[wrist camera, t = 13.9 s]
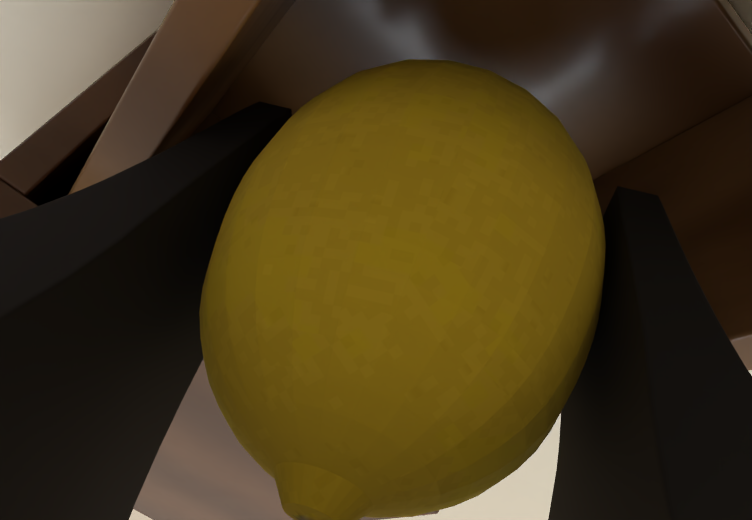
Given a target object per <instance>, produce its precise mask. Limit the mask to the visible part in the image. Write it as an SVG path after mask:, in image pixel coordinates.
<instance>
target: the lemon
mask: <svg viewBox="0 0 752 520" xmlns="http://www.w3.org/2000/svg"><path fill="white" fill-rule="evenodd" d="M605 249H606V242H605V229H604V223H603V218H602V213H601V209H600V205H599V201H598V198H597V194H596V191H595V187H594V184H593V180H592V177H591V173H590V170H589V168H588V165H587V162H586V160H585V158H584V157H583V155H582V154H581V152H580V151H579V149H578V148H577V146H576V145H575V143H574V142H573V140H572V138H571V137H570V135H569V134H568V132H567V131H566V129H565V128H564V126H563V125H562V123H561V122H560V120H559V119H558V117H557V116H555V115H554V114H553V113H552V112H551V111H550V110H549V109H548V108H546V107H545V106H544V105H543V104H542V103H541V102H540V101H539V100H538V99H536V98H535V97H534V96H533V95H532V94H531V93H530V92H529V91H528V90H526V89H524V88H522V87H521V86H519V85H517V84H515V83H513V82H511V81H509V80H507V79H505V78H503V77H502V76H500V75H498V74H496V73H494V72H492V71H490V70H487V69H483V68H479V67H475V66H471V65H467V64H463V63H459V62H455V61H451V60H420V59H406V60H402V61H398V62H394V63H390V64H386V65H382V66H378V67H374V68H370V69H367V70H363V71H359V72H357V73H355V74H353V75H352V76H350V77H348V78H346V79H344V80H343V81H341V82H339V83H338V84H336V85H334V86H333V87H331V88H329V89H328V90H326V91H324V92H323V93H321V94H319V95H318V96H316V97H314V98H313V99H312V100H310V101H309V102H307V103H306V104H305V105H303V106H302V107H301V108H300V109H299V110H298V111H297V112H296V113H295V114H294V115H293V116H292V117H290V118H289V119H288V121H287V122H286V123H285V124H284V125H283V126H282V128H281V129H280V130H279V131H278V132H277V134H276V135H275V136H274V137H273V138H272V139H271V141H270V142H269V143H268V144H267V145H266V146H265V148H264V149H263V150H262V151H261V153H260V154H259V155H258V156H257V157H256V159H255V160H254V161H253V163H252V164H251V166H250V167H249V169H248V170H247V172H246V173H245V175H244V176H243V178H242V180H241V182H240V184H239V186H238V188H237V189H236V191H235V193H234V195H233V197H232V200H231V202H230V204H229V207H228V209H227V211H226V214H225V216H224V219H223V222H222V225H221V228H220V230H219V233H218V236H217V239H216V242H215V246H214V249H213V252H212V255H211V258H210V261H209V265H208V268H207V272H206V276H205V280H204V284H203V288H202V295H201V303H200V310H199V317H200V339H201V346H202V352H203V359H204V363H205V368H206V372H207V376H208V381H209V384H210V387H211V389H212V391H213V394H214V396H215V399H216V401H217V404H218V406H219V408H220V410H221V412H222V414H223V416H224V418H225V420H226V421H227V423H228V425H229V427H230V428H231V430H232V432H233V433H234V435H235V437H236V438H237V440H238V442H239V443H240V444H241V445H242V447H243V448H244V449H245V450H246V451H247V452H248V453H249V454H250V456H251V457H252V458H253V459H254V460H255V461H256V462H257V463H258V464H259V465H260V466H261V467H262V469H263V470H264V471H265V472H267V473H268V474H269V475H270V476H271V477H273V478H274V479H275V482H276V486H277V489H278V493H279V497H280V501H281V505H282V508H283V510H284V512H285V513H286V514H287V515H288V516H290V517H291V518H292V519H294V520H359V519H361V518H363V517H372V518H385V517H413V516H417V515H421V514H425V513H429V512H433V511H437V510H440V509H444V508H448V507H452V506H455V505H457V504H460V503H462V502H464V501H467V500H469V499H471V498H474V497H476V496H478V495H480V494H481V493H483V492H484V491H486V490H487V489H489V488H490V487H492V486H494V485H495V484H497V483H498V482H500V481H501V480H502V479H504V478H505V477H507V476H508V475H510V474H511V473H512V472H514V471H515V470H517V469H518V468H519V467H520V466H521V465H522V464H523V463H524V462H525V461H526V460H527V459H528V458H529V457H530V456H531V455H532V454H533V453H534V452H535V451H536V450H537V449H538V447H539V446H540V445H541V443H542V442H543V440H544V439H545V438H546V436H547V435H548V433H549V432H550V431H551V429H552V427H553V425H554V423H555V422H556V420H557V418H558V416H559V414H560V413H561V411H562V409H563V407H564V405H565V403H566V402H567V400H568V398H569V396H570V394H571V392H572V390H573V389H574V387H575V385H576V383H577V380H578V378H579V376H580V374H581V371H582V369H583V367H584V364H585V362H586V359H587V356H588V354H589V351H590V348H591V345H592V342H593V339H594V335H595V331H596V327H597V324H598V320H599V313H600V307H601V301H602V290H603V279H604V268H605Z"/></svg>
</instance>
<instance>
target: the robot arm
mask: <svg viewBox="0 0 752 520" xmlns="http://www.w3.org/2000/svg"><path fill="white" fill-rule="evenodd" d="M290 117H292V111H291V109H289V108H285V107H281V106H277V105H272V104H268V103H264V102H260V101H259V102H257V103H255V104H253V105H250V106H248V107H246V108H244V109H242V110H240V111H238V112H236V113H234V114H233V115H231V116H229V117H227V118H225V119H223V120H221V121H219V122H218V123H216V124H214V125H212V126H210V127H208V128H206V129H205V130H203V131H201V132H199V133H197V134H195V135H193V136H192V137H190V138H188V139H186V140H184V141H182V142H180V143H178V144H176V145H174V146H173V147H171V148H169V149H167V150H165V151H163V152H161V153H159V154H157V155H155V156H153V157H151V158H149V159H147V160H145V161H143V162H140V163H138V164H136V165H134V166H132V167H130V168H128V169H126V170H124V171H122V172H119V173H117V174H115V175H113V176H111V177H109V178H107V179H105V180H103V181H100V182H98V183H96V184H93V185H91V186H89V187H86V188H84V189H81V190H79V191H77V192H74V193H72V194H69V195H67V196H64V197H61V198H59V199H56V200H53V201H51V202H48V203H45V204H43V205H40V206H37V207H35V208H32V209H29V210H26V211H23V212H20V213H17V214H14V215H10V216H7V217H4V218H1V219H0V520H129V517H130V515H131V512H132V510H133V507H134V505H135V502H136V500H137V498H138V496H139V493H140V491H141V489H142V487H143V484H144V482H145V480H146V477H147V475H148V473H149V471H150V468H151V466H152V464H153V462H154V459H155V457H156V455H157V453H158V450H159V448H160V446H161V444H162V442H163V440H164V437H165V435H166V433H167V431H168V429H169V427H170V425H171V423H172V421H173V419H174V416H175V414H176V412H177V410H178V408H179V406H180V404H181V402H182V400H183V398H184V396H185V394H186V392H187V390H188V388H189V386H190V384H191V382H192V380H193V378H194V376H195V374H196V372H197V370H198V368H199V366H200V364H201V362H202V360H203V352H202V346H201V339H200V317H199V310H200V303H201V295H202V288H203V284H204V280H205V276H206V272H207V268H208V265H209V261H210V258H211V255H212V252H213V249H214V246H215V242H216V239H217V236H218V233H219V230H220V228H221V225H222V222H223V219H224V216H225V214H226V211H227V209H228V207H229V204H230V202H231V200H232V197H233V195H234V193H235V191H236V189H237V188H238V186H239V184H240V182H241V180H242V178H243V176H244V175H245V173H246V172H247V170H248V169H249V167H250V166H251V164H252V163H253V161H254V160H255V159H256V157H257V156H258V155H259V154H260V153H261V151H262V150H263V149H264V148H265V146H266V145H267V144H268V143H269V142H270V141H271V139H272V138H273V137H274V136H275V135H276V134H277V132H278V131H279V130H280V129H281V128H282V126H283V125H284V124H285V123H286V122H287V121H288V119H289V118H290ZM603 223H604V229H605V242H606V249H605V268H604V279H603V290H602V301H601V307H600V313H599V320H598V324H597V327H596V331H595V335H594V339H593V342H592V345H591V348H590V351H589V354H588V356H587V359H586V362H585V364H584V367H583V369H582V371H581V374H580V376H579V378H578V380H577V383H576V385H575V387H574V389H573V390H572V392H571V394H570V396H569V398H568V400H567V402H566V403H565V405H564V407H563V409H562V411H561V426H560V443H559V453H558V462H557V471H556V477H555V483H554V489H553V495H552V501H551V507H550V513H549V519H548V520H752V376H751V374H750V373H749V371H748V370H747V368H746V367H745V365H744V363H743V362H742V360H741V358H740V357H739V355H738V353H737V352H736V350H735V348H734V347H733V345H732V343H731V342H730V340H729V338H728V337H727V335H726V333H725V331H724V329H723V328H722V326H721V324H720V322H719V321H718V319H717V317H716V315H715V313H714V311H713V309H712V308H711V306H710V304H709V302H708V300H707V298H706V296H705V294H704V292H703V290H702V288H701V286H700V284H699V282H698V281H697V279H696V277H695V275H694V272H693V270H692V268H691V266H690V264H689V262H688V260H687V258H686V256H685V254H684V251H683V249H682V247H681V245H680V243H679V241H678V238H677V236H676V234H675V232H674V229H673V227H672V225H671V223H670V220H669V218H668V216H667V214H666V211H665V209H664V207H663V205H662V203H661V201H660V199H659V197H658V195H654V194H649V193H645V192H641V191H637V190H632V189H628V188H624V187H620V186H617V188H616V190H615V192H614V194H613V196H612V198H611V200H610V203H609V205H608V207H607V209H606V211H605V213H604V215H603Z"/></svg>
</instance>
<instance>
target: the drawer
mask: <svg viewBox="0 0 752 520" xmlns="http://www.w3.org/2000/svg"><path fill="white" fill-rule="evenodd" d="M406 59H420V60H451V61H455V62H459V63H463V64H467V65H471V66H475V67H479V68H483V69H487V70H490V71H492V72H494V73H496V74H498V75H500V76H502V77H503V78H505V79H507V80H509V81H511V82H513V83H515V84H517V85H519V86H521V87H522V88H524V89H526V90H528V91H529V92H530V93H531V94H532V95H533V96H534V97H535V98H536V99H538V100H539V101H540V102H541V103H542V104H543V105H544V106H545V107H546V108H548V109H549V110H550V111H551V112H552V113H553V114H554V115H555V116H557V117H558V119H559V120H560V122H561V123H562V125H563V126H564V128H565V129H566V131H567V132H568V134H569V135H570V137H571V138H572V140H573V142H574V143H575V145H576V146H577V148H578V149H579V151H580V152H581V154H582V155H583V157H584V158H585V160H586V162H587V165H588V168H589V170H590V173H591V177H592V180H593V184H594V187H595V191H596V194H597V198H598V201H599V205H600V209H601V213H602V218H603V215H604V213H605V211H606V209H607V207H608V205H609V203H610V200H611V198H612V196H613V194H614V192H615V190H616V188H617V186H620V187H624V188H628V189H632V190H637V191H641V192H645V193H649V194H654V195H658V197H659V199H660V201H661V203H662V205H663V207H664V209H665V211H666V214H667V216H668V218H669V220H670V223H671V225H672V227H673V229H674V232H675V234H676V236H677V238H678V241H679V243H680V245H681V247H682V249H683V251H684V254H685V256H686V258H687V260H688V262H689V264H690V266H691V268H692V270H693V272H694V275H695V277H696V279H697V281H698V282H699V284H700V286H701V288H702V290H703V292H704V294H705V296H706V298H707V300H708V302H709V304H710V306H711V308H712V309H713V311H714V313H715V315H716V317H717V319H718V321H719V322H720V324H721V326H722V328H723V329H724V331H725V333H726V335H727V337H728V338H729V340H730V342H731V343H732V345H733V347H734V348H735V350H736V352H737V353H738V355H739V357H740V358H741V360H742V362H743V363H744V365H745V367H746V368H747V370H752V34H751V32H750V31H749V30H748V28H747V27H746V26H745V24H744V23H743V21H742V20H741V19H740V17H739V16H738V14H737V13H736V12H735V10H734V9H733V7H732V6H731V5H730V3H729V2H728V1H727V0H174V2H173V4H172V6H171V7H170V9H169V11H168V13H167V15H166V17H165V18H164V20H163V22H162V24H161V26H160V28H159V29H158V31H157V33H156V35H155V37H154V39H153V40H152V42H151V44H150V46H149V48H148V49H147V51H146V53H145V55H144V57H143V59H142V60H141V62H140V64H139V66H138V68H137V70H136V71H135V73H134V75H133V77H132V79H131V81H130V82H129V84H128V86H127V88H126V90H125V92H124V93H123V95H122V97H121V99H120V101H119V103H118V104H117V106H116V108H115V110H114V112H113V114H112V115H111V117H110V119H109V121H108V123H107V125H106V126H105V128H104V130H103V132H102V134H101V136H100V137H99V139H98V141H97V143H96V145H95V147H94V148H93V150H92V152H91V154H90V156H89V158H88V159H87V161H86V163H85V165H84V167H83V169H82V170H81V172H80V174H79V176H78V178H77V180H76V181H75V183H74V185H73V187H72V189H71V191H70V192H69V194H72V193H74V192H77V191H79V190H81V189H84V188H86V187H89V186H91V185H93V184H96V183H98V182H100V181H103V180H105V179H107V178H109V177H111V176H113V175H115V174H117V173H119V172H122V171H124V170H126V169H128V168H130V167H132V166H134V165H136V164H138V163H140V162H143V161H145V160H147V159H149V158H151V157H153V156H155V155H157V154H159V153H161V152H163V151H165V150H167V149H169V148H171V147H173V146H174V145H176V144H178V143H180V142H182V141H184V140H186V139H188V138H190V137H192V136H193V135H195V134H197V133H199V132H201V131H203V130H205V129H206V128H208V127H210V126H212V125H214V124H216V123H218V122H219V121H221V120H223V119H225V118H227V117H229V116H231V115H233V114H234V113H236V112H238V111H240V110H242V109H244V108H246V107H248V106H250V105H253V104H255V103H257V102H259V101H260V102H264V103H268V104H272V105H277V106H281V107H285V108H289V109H291V111H292V116H293V115H294V114H295V113H296V112H297V111H298V110H299V109H300V108H301V107H302V106H303V105H305V104H306V103H307V102H309V101H310V100H312V99H313V98H314V97H316V96H318V95H319V94H321V93H323V92H324V91H326V90H328V89H329V88H331V87H333V86H334V85H336V84H338V83H339V82H341V81H343V80H344V79H346V78H348V77H350V76H352V75H353V74H355V73H357V72H359V71H363V70H367V69H370V68H374V67H378V66H382V65H386V64H390V63H394V62H398V61H402V60H406ZM69 194H68V195H69ZM560 414H561V413H560Z"/></svg>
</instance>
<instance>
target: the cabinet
mask: <svg viewBox="0 0 752 520" xmlns="http://www.w3.org/2000/svg"><path fill="white" fill-rule="evenodd" d="M157 31H158V30H157ZM157 31H155V32H154V33H153V34H152V35H151V36H149V37H148V38H147V39H146V40H145V41H143V42H142V43H141V44H140V45H139V46H137V47H136V48H135V49H134V50H133V51H131V52H130V53H129V54H128V55H127V56H125V57H124V58H123V59H122V60H121V61H119V62H118V63H117V64H116V65H115V66H113V67H112V68H111V69H110V70H109V71H107V72H106V73H105V74H104V75H103V76H101V77H100V78H99V79H98V80H97V81H95V82H94V83H93V84H92V85H91V86H89V87H88V88H87V89H86V90H85V91H83V92H82V93H81V94H80V95H79V96H77V97H76V98H75V99H74V100H73V101H71V102H70V103H69V104H68V105H67V106H65V107H64V108H63V109H62V110H61V111H59V112H58V113H57V114H56V115H55V116H53V117H52V118H51V119H50V120H49V121H47V122H46V123H45V124H44V125H43V126H41V127H40V128H39V129H38V130H37V131H35V132H34V133H33V134H32V135H31V136H29V137H28V138H27V139H26V140H25V141H23V142H22V143H21V144H20V145H19V146H17V147H16V148H15V149H14V150H13V151H11V152H10V153H9V154H8V155H7V156H5V157H4V158H3V159H2V160H1V161H0V219H1V218H4V217H7V216H10V215H14V214H17V213H20V212H23V211H26V210H29V209H32V208H35V207H37V206H40V205H43V204H45V203H48V202H51V201H53V200H56V199H59V198H61V197H64V196H67V195H68V194H69V192H70V191H71V189H72V187H73V185H74V183H75V181H76V180H77V178H78V176H79V174H80V172H81V170H82V169H83V167H84V165H85V163H86V161H87V159H88V158H89V156H90V154H91V152H92V150H93V148H94V147H95V145H96V143H97V141H98V139H99V137H100V136H101V134H102V132H103V130H104V128H105V126H106V125H107V123H108V121H109V119H110V117H111V115H112V114H113V112H114V110H115V108H116V106H117V104H118V103H119V101H120V99H121V97H122V95H123V93H124V92H125V90H126V88H127V86H128V84H129V82H130V81H131V79H132V77H133V75H134V73H135V71H136V70H137V68H138V66H139V64H140V62H141V60H142V59H143V57H144V55H145V53H146V51H147V49H148V48H149V46H150V44H151V42H152V40H153V39H154V37H155V35H156V33H157ZM133 509H135V510H137V511H138V512H140V513H142V514H144V515H146V516H148V517H150V518H151V519H153V520H294V519H292V518H291V517H290V516H288V515H287V514H286V513H285V512H284V510H283V508H282V505H281V501H280V497H279V493H278V489H277V486H276V482H275V479H274V478H273V477H271V476H270V475H269V474H268V473H267V472H265V471H264V470H263V469H262V467H261V466H260V465H259V464H258V463H257V462H256V461H255V460H254V459H253V458H252V457H251V456H250V454H249V453H248V452H247V451H246V450H245V449H244V448H243V447H242V445H241V444H240V443H239V442H238V440H237V438H236V437H235V435H234V433H233V432H232V430H231V428H230V427H229V425H228V423H227V421H226V420H225V418H224V416H223V414H222V412H221V410H220V408H219V406H218V404H217V401H216V399H215V396H214V394H213V391H212V389H211V387H210V384H209V381H208V376H207V372H206V368H205V363H204V359H203V360H202V362H201V364H200V366H199V368H198V370H197V372H196V374H195V376H194V378H193V380H192V382H191V384H190V386H189V388H188V390H187V392H186V394H185V396H184V398H183V400H182V402H181V404H180V406H179V408H178V410H177V412H176V414H175V416H174V419H173V421H172V423H171V425H170V427H169V429H168V431H167V433H166V435H165V437H164V440H163V442H162V444H161V446H160V448H159V450H158V453H157V455H156V457H155V459H154V462H153V464H152V466H151V468H150V471H149V473H148V475H147V477H146V480H145V482H144V484H143V487H142V489H141V491H140V493H139V496H138V498H137V500H136V502H135V505H134V507H133ZM438 512H439V510H437V511H433V512H429V513H425V514H421V515H428V514H437V513H438ZM417 516H419V515H417ZM390 518H400V517H385V518H372V517H363V518H361V519H359V520H380V519H390Z"/></svg>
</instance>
